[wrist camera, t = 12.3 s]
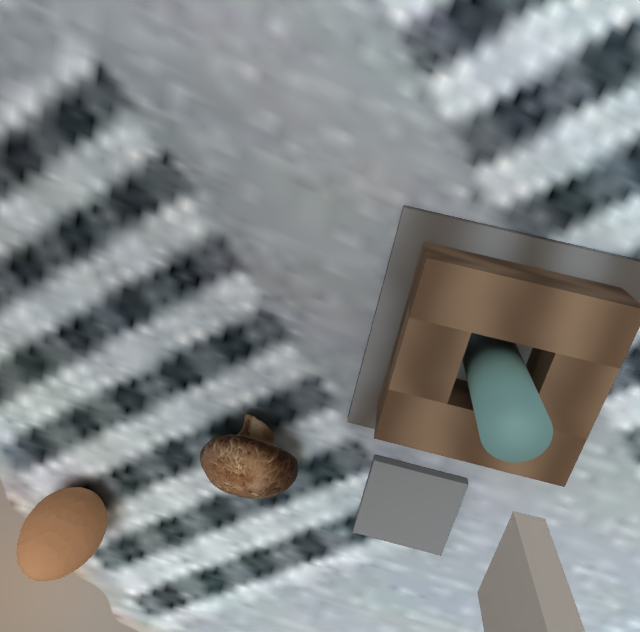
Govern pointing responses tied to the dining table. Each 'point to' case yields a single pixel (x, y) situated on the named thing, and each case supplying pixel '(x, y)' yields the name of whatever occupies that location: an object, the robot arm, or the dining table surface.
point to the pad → (409, 505)
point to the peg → (505, 401)
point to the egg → (61, 533)
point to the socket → (493, 335)
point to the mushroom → (249, 462)
